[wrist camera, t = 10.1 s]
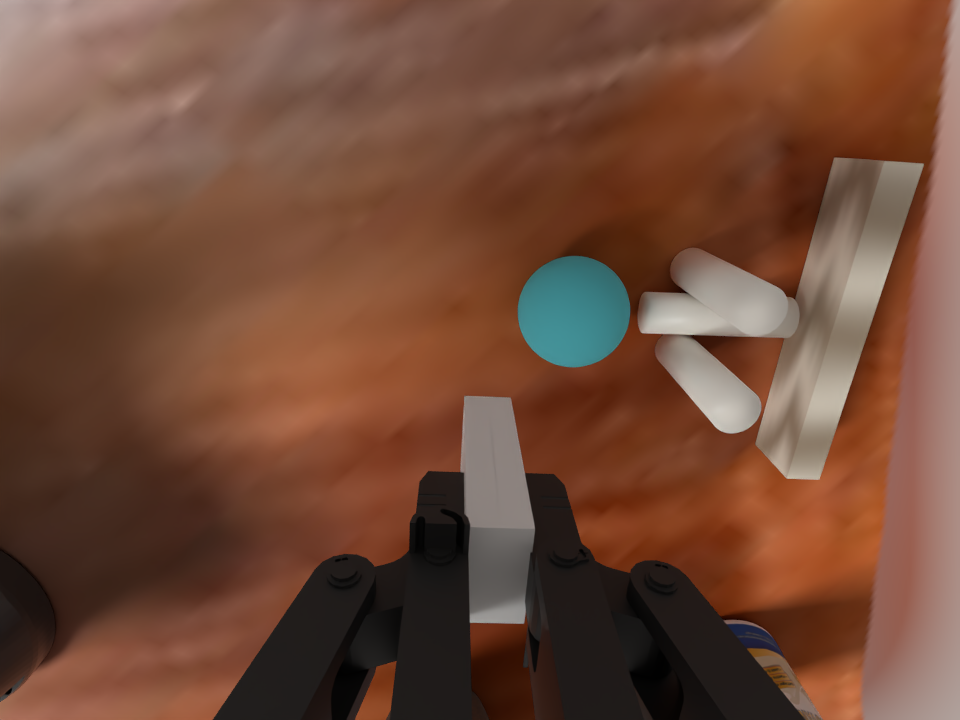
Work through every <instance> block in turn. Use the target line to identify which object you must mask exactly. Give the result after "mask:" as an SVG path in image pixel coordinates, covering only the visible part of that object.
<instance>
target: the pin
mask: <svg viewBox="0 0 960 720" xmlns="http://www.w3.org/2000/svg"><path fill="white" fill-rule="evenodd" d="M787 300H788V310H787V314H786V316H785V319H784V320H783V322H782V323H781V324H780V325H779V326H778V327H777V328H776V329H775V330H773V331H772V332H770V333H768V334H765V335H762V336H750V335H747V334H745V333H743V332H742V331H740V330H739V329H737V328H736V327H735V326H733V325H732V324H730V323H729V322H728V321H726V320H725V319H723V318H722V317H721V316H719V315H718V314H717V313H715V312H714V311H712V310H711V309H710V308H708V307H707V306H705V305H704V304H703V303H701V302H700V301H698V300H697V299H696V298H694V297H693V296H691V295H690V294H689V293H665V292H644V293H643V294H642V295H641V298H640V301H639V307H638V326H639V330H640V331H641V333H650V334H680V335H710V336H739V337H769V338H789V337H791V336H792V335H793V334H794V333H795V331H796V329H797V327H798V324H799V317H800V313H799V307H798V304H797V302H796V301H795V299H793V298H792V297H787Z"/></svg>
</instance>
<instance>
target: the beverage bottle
mask: <svg viewBox="0 0 960 720" xmlns="http://www.w3.org/2000/svg"><path fill="white" fill-rule="evenodd" d="M723 621H724V622H725V623H726V624H727V625H728V627H729V628H730V629H731V630H732V631H733V633H734V634H735V635H736V636H737V638H738V639H739V640H740V641H741V642H742V644H743V645H744V646H745V647H746V648H747V650H748V651H749V652H750V653H751V654H752V656H753V657H754V658H755V659H756V661H757V662H758V663H759V664H760V665H761V667H762V668H763V669H764V670H765V671H766V673H767V674H768V675H769V676H770V677H771V679H772V680H773V681H774V682H775V683H776V685H777V686H778V687H779V688H780V690H781V691H782V692H783V693H784V694H785V696H786V697H787V698H788V699H789V700H790V702H791V703H792V704H793V705H794V706H795V708H796V709H797V710H798V711H799V713H800V714H801V715H802V716H803V717H804V719H805V720H823V719H822V718H821V716H820V715H819V713H818V711H817V710H816V708H815V706H814V705H813V703H812V702H811V700H810V698H809V697H808V695H807V693H806V692H805V690H804V689H803V687H802V685H801V684H800V682H799V680H798V679H797V677H796V676H795V674H794V672H793V671H792V669H791V667H790V666H789V664H788V662H787V661H786V659H785V657H784V656H783V654H782V652H781V650H780V648H779V646H778V645H777V643H776V641H775V640H774V638H773V637H772V636H771V635H770V634H769V633H768V632H767V631H766V630H765V629H763V628H762V627H760V626H758V625H756V624H754V623H751V622H748V621H743V620H723Z"/></svg>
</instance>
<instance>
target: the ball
mask: <svg viewBox="0 0 960 720" xmlns="http://www.w3.org/2000/svg"><path fill="white" fill-rule="evenodd" d="M629 319H630V302H629V298H628V294H627V291H626V289H625V287H624V285H623V283H622V281H621V280H620V278H619V277H618V276H617V274H616V273H615V272H614V271H612V270H611V269H610V268H609V267H607V266H606V265H605V264H603V263H601V262H599V261H597V260H594V259H591V258H588V257H583V256H566V257H561V258H558V259H555V260H552V261H550V262H548V263H546V264H545V265H543V266H542V267H540V268H539V269H538V270H537V271H536V272H534V273H533V275H532V276H531V277H530V278H529V280H528V281H527V282H526V284H525V286H524V288H523V290H522V293H521V295H520V299H519V303H518V321H519V326H520V329H521V332H522V334H523V337H524V339H525V340H526V342H527V343H528V345H529V346H530V347H531V348H532V350H533V351H534V352H535V353H537V354H538V355H539V356H540V357H542V358H543V359H545V360H547V361H549V362H551V363H553V364H556V365H559V366H565V367H582V366H586V365H590V364H593V363H596V362H598V361H600V360H602V359H604V358H605V357H607V356H608V355H609V354H610V353H611V352H613V351H614V350H615V348H616V347H617V346H618V345H619V344H620V342H621V341H622V339H623V337H624V335H625V333H626V331H627V328H628V324H629Z"/></svg>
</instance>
